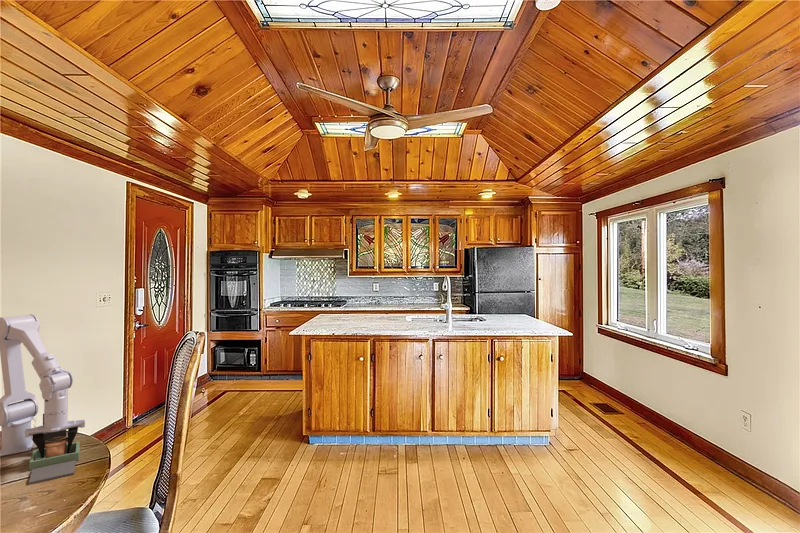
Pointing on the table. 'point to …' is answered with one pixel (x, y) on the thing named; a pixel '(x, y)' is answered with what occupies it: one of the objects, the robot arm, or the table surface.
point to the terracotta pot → (55, 446)
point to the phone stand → (53, 434)
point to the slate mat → (52, 472)
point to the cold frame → (54, 460)
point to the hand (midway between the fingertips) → (55, 454)
